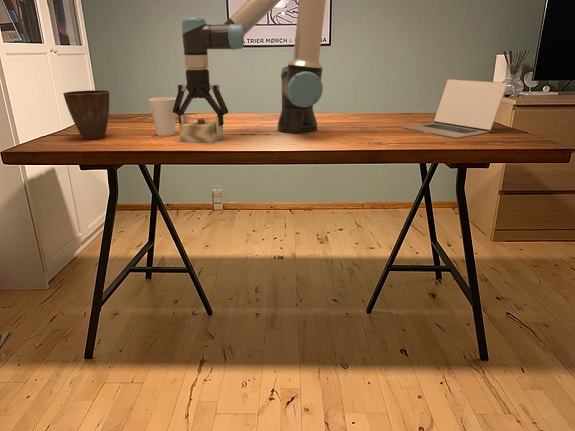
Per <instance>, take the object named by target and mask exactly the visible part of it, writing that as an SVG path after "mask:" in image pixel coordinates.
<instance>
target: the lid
mask: <svg viewBox="0 0 575 431" xmlns="http://www.w3.org/2000/svg"><path fill="white" fill-rule="evenodd" d="M178 126H179V137H180V139H179V140H181V142H200V143H212V142H214V141H216V140H218V139H220V138H222V137H223V136H224V128H223V126H224V124H223V125H222V126H221V130H222V135H220V136H217V132H216V120H205V119H203V118H199V119H198V118H197V119H195V120H194V119H193V120H190V121H187V123H184V124H182V125H181V124H179V125H178Z"/></svg>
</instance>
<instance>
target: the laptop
mask: <svg viewBox="0 0 575 431" xmlns="http://www.w3.org/2000/svg"><path fill="white" fill-rule="evenodd" d="M507 86H508V83H507V82H497V81H485V80H484V81H482V80H470V79H468V80H467V79H453V78H452V79H451V78H448V79H447V80H446V83H445V86H444V90H443V92H442V96H441V99H440V101H439V105H438V107H437V110H436V112H435V113H436V114H435V116H434V120H433V121H432V122H427V123H421V124H414V125H406V126H405V125H404V126H402V127H401V129H402V130H407V131H412V132H417V133H422V134H428V135H434V136H440V137H445V138H449V139H455V140H459V139H463V138H464V139H465V138H469V137H470V138H471V137H475V136H481V135H487V134H490V132H492V128H493V126H494V123H495V120H496V117H497V114H498V111H499V108H500V106H501V103H502V100H503V98H504V97H503V96H504V94H505V91H506V89H507Z"/></svg>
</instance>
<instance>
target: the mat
mask: <svg viewBox="0 0 575 431" xmlns="http://www.w3.org/2000/svg"><path fill="white" fill-rule="evenodd" d="M228 137H229V136H228V135H223V137H222V138H220V139H218V140H216V141H214V142H212V143H200V142H181V139H179V140H177V141H174V143H178V144H199V145H200V144H204V145H214V144H216V143H218V142H221V141H223V140H225V139H226V138H228Z"/></svg>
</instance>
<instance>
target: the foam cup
mask: <svg viewBox="0 0 575 431" xmlns="http://www.w3.org/2000/svg"><path fill="white" fill-rule="evenodd" d="M175 101H176V97H169V96H168V97H165V96H164V97H153V98H152V97H151V98H149V99H148V103H149V107H150V110H151V111H150V112H151V114H152V118H153V123H154V126H155V127H154V128H155V131H156V134H157V136H158V137H171V136H175V134H176V118H177V117H176V116H177V114H176V113H173V108H174V104H175Z"/></svg>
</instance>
